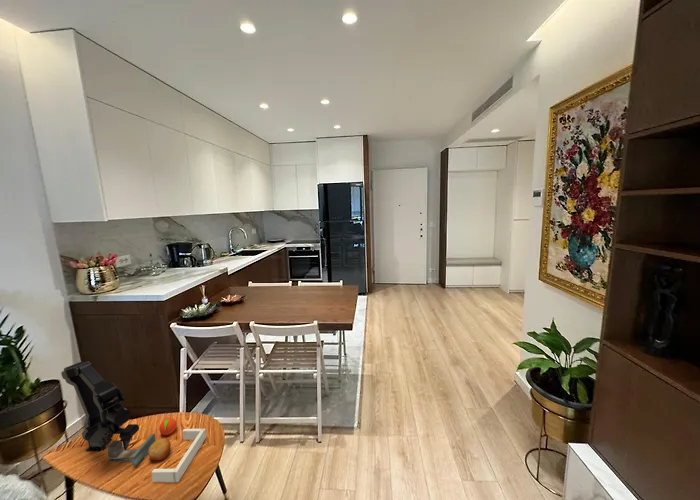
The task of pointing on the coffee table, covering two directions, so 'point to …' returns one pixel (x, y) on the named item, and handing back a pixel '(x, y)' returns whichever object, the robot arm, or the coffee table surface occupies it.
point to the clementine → (167, 426)
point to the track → (123, 459)
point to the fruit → (159, 449)
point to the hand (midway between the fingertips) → (115, 449)
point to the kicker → (117, 451)
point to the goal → (177, 473)
